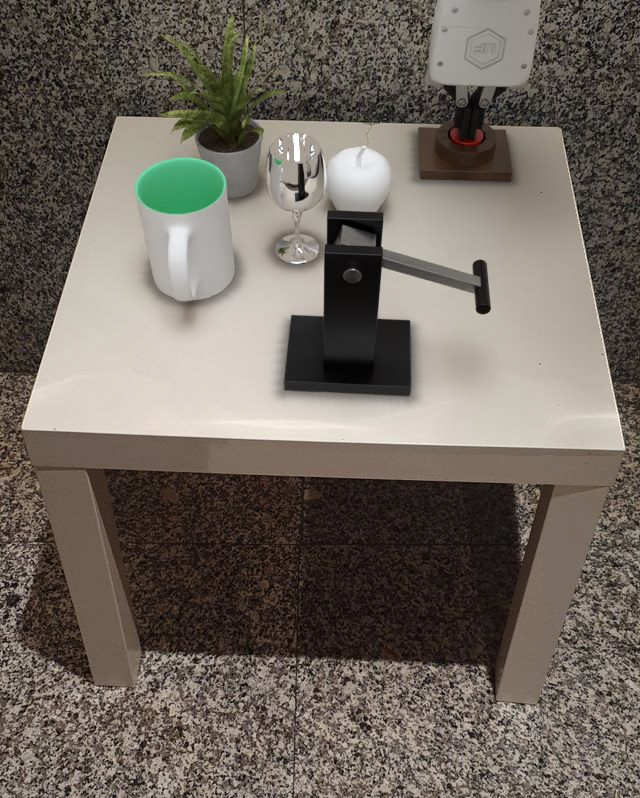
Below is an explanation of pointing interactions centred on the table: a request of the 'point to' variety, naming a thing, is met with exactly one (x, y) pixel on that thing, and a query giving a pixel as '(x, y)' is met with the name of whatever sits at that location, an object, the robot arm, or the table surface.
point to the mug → (186, 227)
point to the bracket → (350, 323)
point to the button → (467, 142)
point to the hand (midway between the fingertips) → (466, 132)
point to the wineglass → (296, 189)
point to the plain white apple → (358, 180)
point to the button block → (463, 155)
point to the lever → (426, 268)
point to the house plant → (222, 115)
